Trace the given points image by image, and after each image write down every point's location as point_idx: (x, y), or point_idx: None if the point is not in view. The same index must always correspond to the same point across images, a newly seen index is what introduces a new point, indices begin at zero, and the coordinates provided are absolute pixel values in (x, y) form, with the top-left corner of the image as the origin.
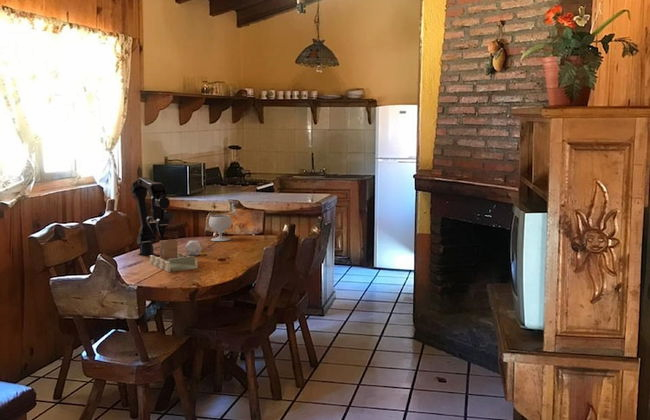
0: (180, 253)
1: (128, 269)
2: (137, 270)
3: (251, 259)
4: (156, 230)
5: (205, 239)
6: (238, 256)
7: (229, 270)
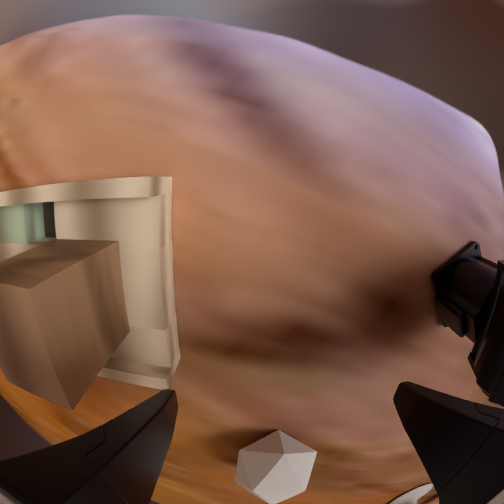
0: (114, 373)
1: (117, 35)
2: (68, 73)
3: None
4: (417, 448)
5: None
6: None
7: None
